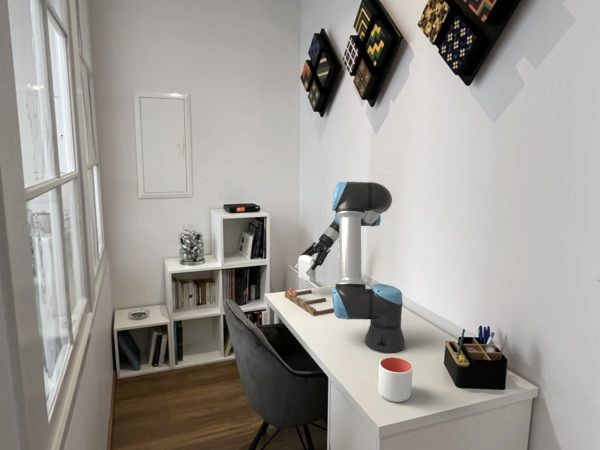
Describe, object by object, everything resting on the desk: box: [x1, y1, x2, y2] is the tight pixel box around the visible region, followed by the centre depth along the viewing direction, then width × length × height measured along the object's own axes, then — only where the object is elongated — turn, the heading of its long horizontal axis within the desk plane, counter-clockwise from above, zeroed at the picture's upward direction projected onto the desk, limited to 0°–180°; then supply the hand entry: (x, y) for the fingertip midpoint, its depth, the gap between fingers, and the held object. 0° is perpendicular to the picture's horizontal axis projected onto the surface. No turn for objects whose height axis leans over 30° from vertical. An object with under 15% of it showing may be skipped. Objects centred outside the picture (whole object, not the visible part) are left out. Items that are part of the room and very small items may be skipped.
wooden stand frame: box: [284, 287, 334, 317], centre depth 211 cm, size 29×15×6 cm, turn 29°
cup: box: [377, 356, 414, 403], centre depth 132 cm, size 10×10×10 cm
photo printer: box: [297, 255, 317, 283], centre depth 215 cm, size 10×4×12 cm, turn 40°
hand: (301, 271), depth 214 cm, fingers closed on photo printer, 10 cm apart
